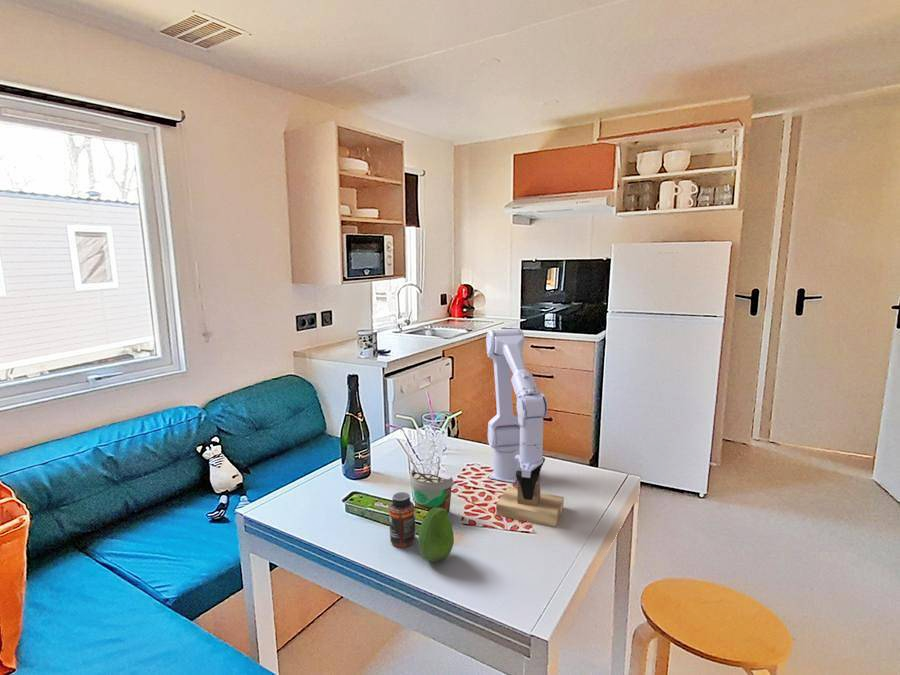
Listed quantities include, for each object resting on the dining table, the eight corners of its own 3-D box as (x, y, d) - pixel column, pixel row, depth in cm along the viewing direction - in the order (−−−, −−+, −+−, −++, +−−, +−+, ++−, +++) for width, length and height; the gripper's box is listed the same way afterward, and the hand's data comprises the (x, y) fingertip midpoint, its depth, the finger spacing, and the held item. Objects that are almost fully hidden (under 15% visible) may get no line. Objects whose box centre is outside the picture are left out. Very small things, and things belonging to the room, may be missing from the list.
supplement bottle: (420, 537, 117) (419, 492, 115) (407, 551, 111) (405, 504, 109) (398, 531, 119) (397, 487, 117) (385, 544, 114) (383, 499, 112)
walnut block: (521, 494, 130) (521, 472, 129) (540, 497, 128) (540, 475, 127) (517, 503, 125) (517, 481, 124) (537, 506, 124) (537, 484, 123)
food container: (401, 513, 127) (399, 477, 125) (413, 502, 132) (412, 467, 131) (443, 525, 121) (442, 487, 120) (454, 513, 127) (454, 477, 125)
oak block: (508, 496, 135) (508, 486, 134) (563, 507, 129) (563, 496, 128) (496, 514, 126) (496, 504, 125) (555, 527, 120) (555, 515, 119)
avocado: (461, 561, 107) (460, 510, 105) (430, 574, 103) (428, 521, 101) (441, 543, 114) (440, 495, 112) (411, 555, 110) (410, 505, 108)
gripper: (520, 429, 132) (520, 477, 134) (509, 450, 118) (509, 503, 121) (547, 432, 130) (546, 480, 132) (539, 454, 116) (538, 507, 118)
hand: (530, 491), depth 126 cm, fingers open, 7 cm apart
